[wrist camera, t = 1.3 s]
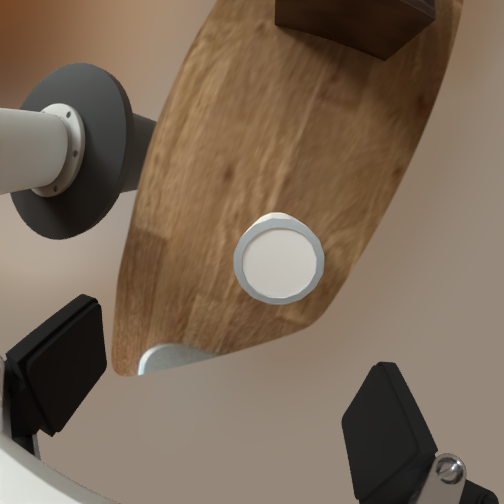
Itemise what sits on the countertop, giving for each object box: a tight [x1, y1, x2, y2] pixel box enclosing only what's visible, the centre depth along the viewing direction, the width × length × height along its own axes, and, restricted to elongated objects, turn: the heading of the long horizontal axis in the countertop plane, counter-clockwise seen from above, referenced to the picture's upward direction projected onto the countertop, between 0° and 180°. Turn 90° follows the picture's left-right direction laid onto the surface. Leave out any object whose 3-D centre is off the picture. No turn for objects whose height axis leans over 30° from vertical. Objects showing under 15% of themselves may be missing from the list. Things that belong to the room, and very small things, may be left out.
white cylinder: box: [234, 213, 325, 305], centre depth 24 cm, size 7×7×7 cm
